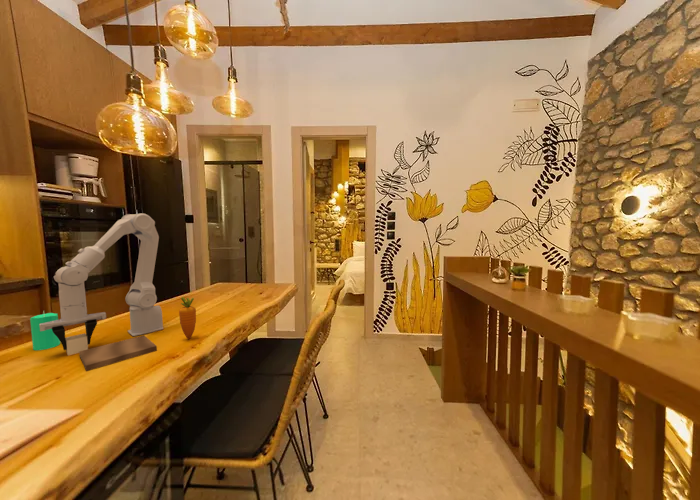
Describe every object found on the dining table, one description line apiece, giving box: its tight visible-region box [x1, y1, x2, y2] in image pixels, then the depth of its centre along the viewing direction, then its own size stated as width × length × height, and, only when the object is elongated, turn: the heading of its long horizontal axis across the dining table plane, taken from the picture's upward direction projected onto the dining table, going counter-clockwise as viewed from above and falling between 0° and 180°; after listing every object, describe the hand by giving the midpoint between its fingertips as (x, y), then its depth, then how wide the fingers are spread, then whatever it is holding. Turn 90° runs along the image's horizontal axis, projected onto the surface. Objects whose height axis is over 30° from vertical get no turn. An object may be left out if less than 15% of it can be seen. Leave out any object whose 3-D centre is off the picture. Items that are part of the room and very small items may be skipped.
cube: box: [65, 332, 89, 356], centre depth 85 cm, size 4×4×4 cm
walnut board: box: [78, 334, 158, 372], centre depth 83 cm, size 16×14×2 cm
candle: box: [29, 310, 61, 351], centre depth 89 cm, size 6×6×12 cm
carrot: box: [178, 296, 197, 340], centre depth 93 cm, size 5×5×15 cm
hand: (77, 346), depth 85 cm, fingers closed on cube, 4 cm apart
